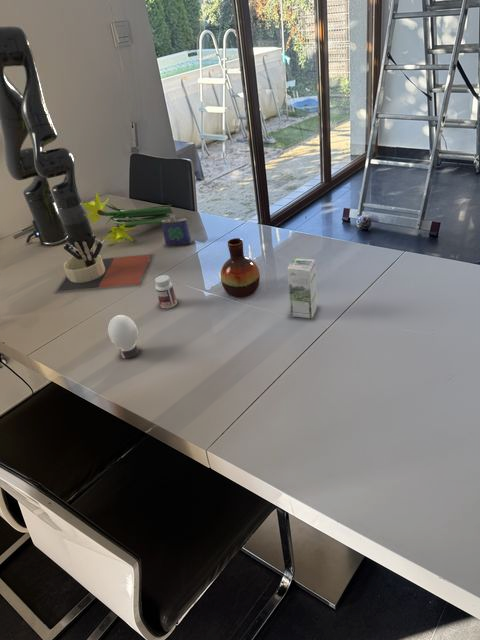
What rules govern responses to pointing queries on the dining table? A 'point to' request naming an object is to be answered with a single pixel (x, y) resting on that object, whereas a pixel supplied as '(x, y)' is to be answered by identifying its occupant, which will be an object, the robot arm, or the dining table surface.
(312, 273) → the syrup box
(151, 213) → the daffodil flowers
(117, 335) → the light bulb
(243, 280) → the vase
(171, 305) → the pill bottle
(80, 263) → the bowl
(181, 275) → the dining table surface
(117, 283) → the placemat
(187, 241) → the flask
